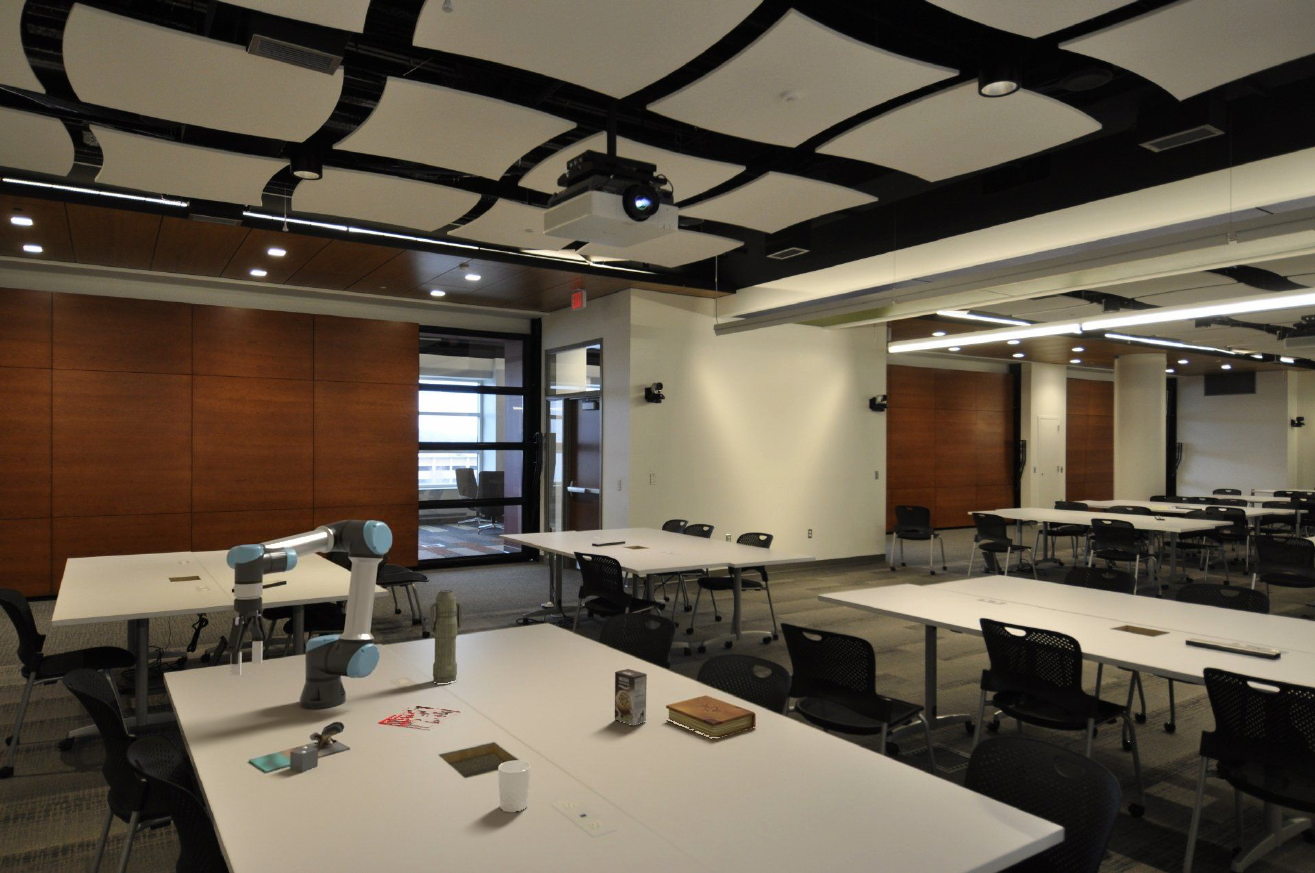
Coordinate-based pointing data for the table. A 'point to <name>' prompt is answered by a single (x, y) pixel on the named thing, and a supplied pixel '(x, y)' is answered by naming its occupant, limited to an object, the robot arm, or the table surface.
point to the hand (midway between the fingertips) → (246, 668)
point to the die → (303, 759)
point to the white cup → (514, 785)
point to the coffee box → (630, 696)
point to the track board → (283, 757)
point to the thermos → (445, 635)
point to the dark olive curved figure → (327, 734)
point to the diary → (711, 716)
